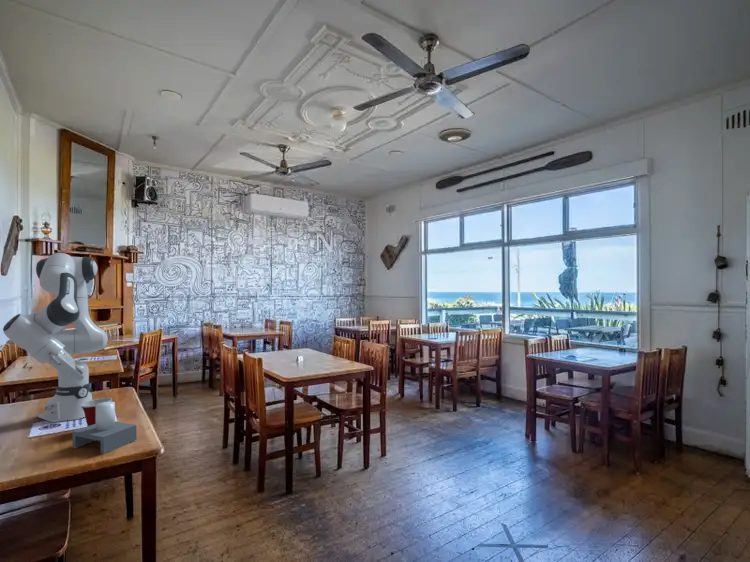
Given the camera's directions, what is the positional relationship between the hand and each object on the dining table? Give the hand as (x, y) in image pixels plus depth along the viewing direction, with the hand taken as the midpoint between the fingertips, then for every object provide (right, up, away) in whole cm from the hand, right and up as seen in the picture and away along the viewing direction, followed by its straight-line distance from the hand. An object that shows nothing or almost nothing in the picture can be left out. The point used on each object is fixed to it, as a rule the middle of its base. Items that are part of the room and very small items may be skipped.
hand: (81, 376), depth 154 cm
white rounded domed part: (+9, -19, 0) cm, 21 cm away
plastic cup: (-4, -25, +15) cm, 30 cm away
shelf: (+9, -25, 0) cm, 27 cm away
